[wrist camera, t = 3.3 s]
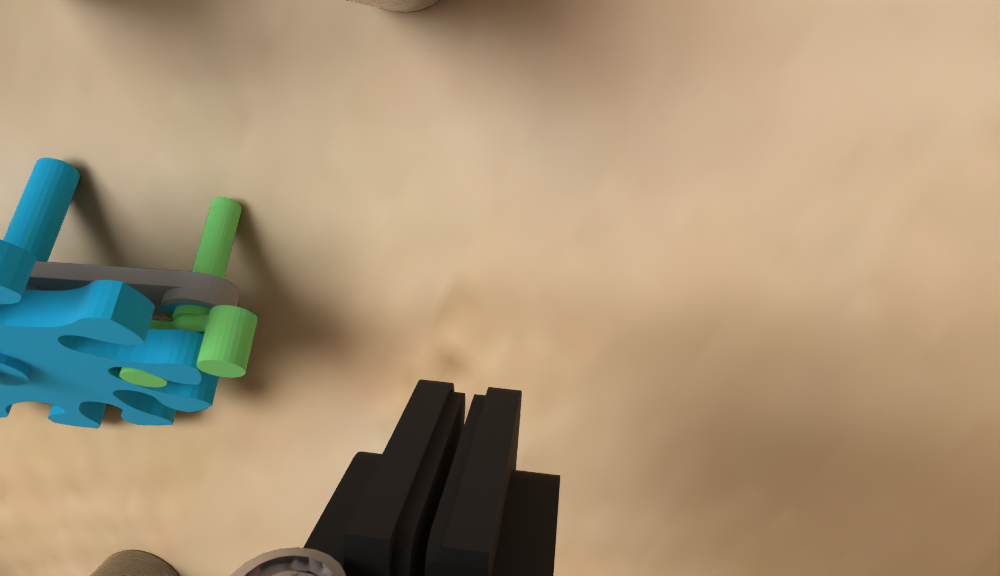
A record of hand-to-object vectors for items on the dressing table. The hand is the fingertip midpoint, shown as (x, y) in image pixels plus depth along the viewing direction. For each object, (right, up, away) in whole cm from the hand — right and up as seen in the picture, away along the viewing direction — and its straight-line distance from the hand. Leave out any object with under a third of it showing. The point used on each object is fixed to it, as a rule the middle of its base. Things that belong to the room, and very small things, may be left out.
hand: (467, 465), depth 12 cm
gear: (-10, +3, +8) cm, 13 cm away
